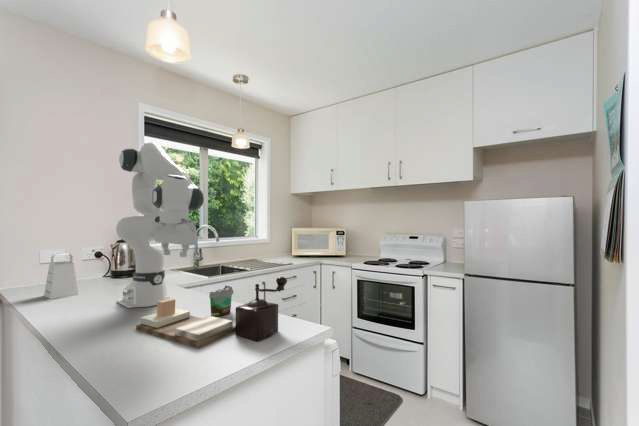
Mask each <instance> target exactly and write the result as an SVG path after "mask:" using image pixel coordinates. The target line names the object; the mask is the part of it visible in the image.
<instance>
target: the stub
mask: <svg viewBox="0 0 639 426" xmlns="http://www.w3.org/2000/svg"><path fill="white" fill-rule="evenodd" d="M190 315H191V311H189V310H186V309H180V308H177V307H176V299H175V298H171V297H169V299H165V300H161V301H157V305H156V312H154V313H152V314H149V315H144V316H142V317H140V324H145V325H148V326H152V327H155V328H158V327H161V326H164V325H167V324H170V323H173V322H176V321H179V320H182V319H185V318H188V317H190Z"/></svg>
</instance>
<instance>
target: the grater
mask: <svg viewBox="0 0 639 426" xmlns="http://www.w3.org/2000/svg"><path fill="white" fill-rule="evenodd" d="M63 255H66V253H60V254H52V255H51V256H50V262H49V263H48V264H49V265H48V271H47V275H46V282H45V286H44V291H43V297H45V298H47V299H49V300H53V299H60V298H67V297H71V296H72V297H73V296H78V295H79V292H78V291H79V290H78V284H77V277H76V271H75V269H76V268H75V265H74V264H75V262H73V255H72V254H71V253H68V256H69V261H60V262H59V261H58V262H54V258H55V256H63Z"/></svg>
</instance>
